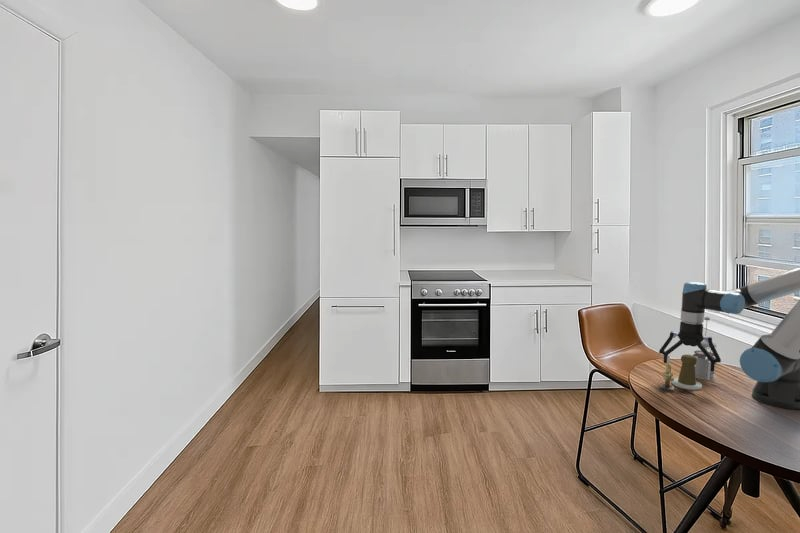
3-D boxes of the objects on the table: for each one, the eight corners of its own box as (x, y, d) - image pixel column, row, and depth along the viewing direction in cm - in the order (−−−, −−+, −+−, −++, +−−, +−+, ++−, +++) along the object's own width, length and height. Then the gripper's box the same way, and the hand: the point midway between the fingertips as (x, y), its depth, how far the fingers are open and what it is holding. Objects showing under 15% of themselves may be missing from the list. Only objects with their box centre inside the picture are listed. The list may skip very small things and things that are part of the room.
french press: (685, 375, 188) (689, 316, 185) (693, 368, 196) (698, 312, 193) (712, 381, 181) (718, 320, 178) (720, 374, 189) (725, 316, 186)
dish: (702, 384, 178) (702, 381, 178) (701, 392, 170) (701, 389, 170) (672, 378, 183) (673, 376, 183) (670, 386, 175) (671, 383, 175)
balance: (674, 385, 176) (676, 358, 175) (672, 395, 167) (674, 366, 165) (661, 383, 179) (663, 356, 177) (658, 392, 169) (660, 364, 168)
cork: (698, 385, 173) (701, 358, 172) (681, 384, 174) (683, 357, 173) (692, 380, 179) (694, 353, 177) (675, 379, 180) (677, 352, 179)
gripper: (731, 324, 170) (726, 378, 172) (656, 316, 184) (652, 366, 186) (731, 328, 164) (726, 384, 166) (653, 319, 178) (650, 371, 180)
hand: (687, 375), depth 176 cm, fingers open, 13 cm apart
